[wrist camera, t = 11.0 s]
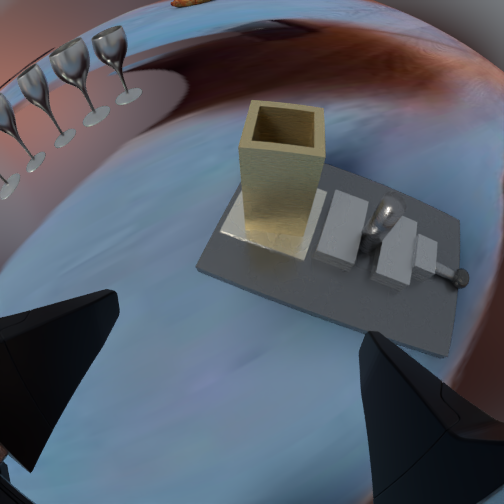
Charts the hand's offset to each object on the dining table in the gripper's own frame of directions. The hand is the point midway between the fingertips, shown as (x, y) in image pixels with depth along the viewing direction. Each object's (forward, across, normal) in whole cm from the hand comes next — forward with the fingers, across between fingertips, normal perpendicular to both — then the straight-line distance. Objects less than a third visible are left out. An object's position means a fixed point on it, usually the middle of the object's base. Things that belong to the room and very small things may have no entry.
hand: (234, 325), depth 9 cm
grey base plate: (+15, -8, +1) cm, 17 cm away
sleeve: (+15, -1, -1) cm, 15 cm away
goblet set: (+24, +31, -7) cm, 39 cm away
